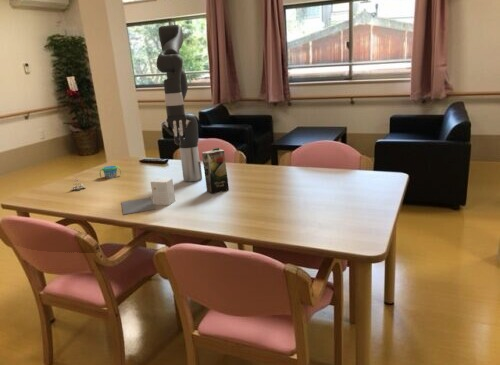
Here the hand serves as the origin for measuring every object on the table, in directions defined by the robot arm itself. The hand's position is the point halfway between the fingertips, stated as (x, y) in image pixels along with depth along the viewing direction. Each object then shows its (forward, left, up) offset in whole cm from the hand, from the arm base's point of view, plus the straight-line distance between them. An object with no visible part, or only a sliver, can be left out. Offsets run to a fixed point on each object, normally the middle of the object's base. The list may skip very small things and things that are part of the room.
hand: (179, 144), depth 175 cm
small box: (+10, 0, -25) cm, 27 cm away
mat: (+21, -2, -25) cm, 33 cm away
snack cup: (+31, -59, -25) cm, 71 cm away
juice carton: (-16, -5, -25) cm, 30 cm away
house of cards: (+48, -42, -26) cm, 69 cm away
